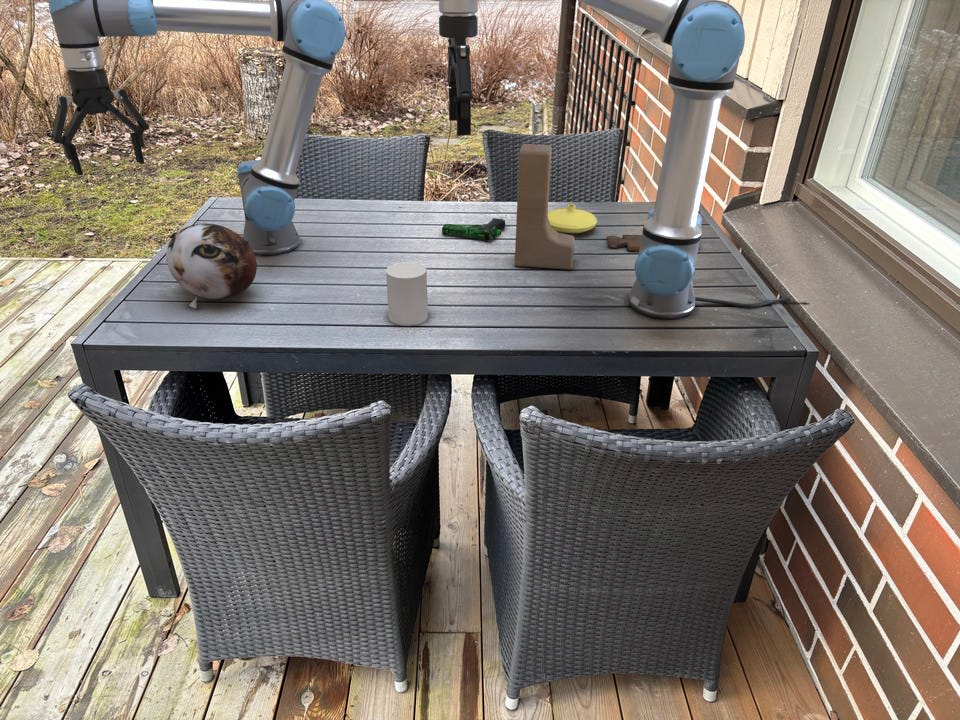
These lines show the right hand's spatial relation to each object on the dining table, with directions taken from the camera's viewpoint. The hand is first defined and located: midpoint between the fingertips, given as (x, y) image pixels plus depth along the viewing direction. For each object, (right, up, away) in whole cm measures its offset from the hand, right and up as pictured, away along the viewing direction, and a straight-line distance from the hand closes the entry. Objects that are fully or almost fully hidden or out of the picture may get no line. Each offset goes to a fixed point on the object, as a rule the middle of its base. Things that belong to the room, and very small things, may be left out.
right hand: (459, 127), depth 148 cm
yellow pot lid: (+31, -10, +63) cm, 70 cm away
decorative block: (+21, -23, +40) cm, 51 cm away
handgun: (+3, -11, +59) cm, 60 cm away
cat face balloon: (-58, -33, +21) cm, 70 cm away
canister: (-12, -39, +13) cm, 42 cm away
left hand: (-80, -5, +14) cm, 81 cm away
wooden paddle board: (+53, -16, +52) cm, 76 cm away
